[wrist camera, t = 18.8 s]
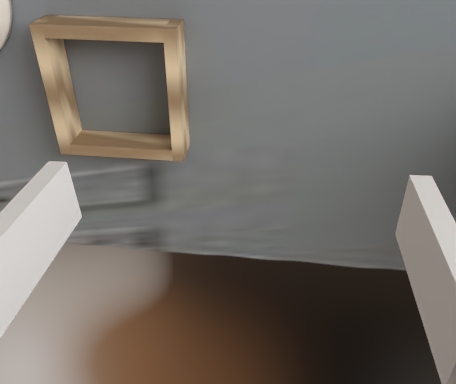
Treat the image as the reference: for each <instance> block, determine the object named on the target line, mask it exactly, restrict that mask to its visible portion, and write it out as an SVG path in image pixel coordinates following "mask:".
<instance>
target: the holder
mask: <svg viewBox="0 0 456 384" xmlns="http://www.w3.org/2000/svg"><path fill="white" fill-rule="evenodd" d="M29 27H30V31H31V35H32V39H33V43H34V47H35V51H36V55H37V59H38V63H39V67H40V71H41V75H42V79H43V83H44V87H45V91H46V95H47V99H48V103H49V107H50V111H51V115H52V119H53V124H54V128H55V132H56V136H57V140H58V144H59V148H60V152H61V154H68V155H85V156H101V157H118V158H135V159H152V160H169V161H184V160H185V157H186V154H187V152H188V149H189V146H190V140H189V120H188V100H187V79H186V59H185V39H184V19H153V18H123V17H93V16H63V15H45V16H43V17H41V18H39V19H37V20H35V21H34V22H32V23H30V24H29ZM63 39H80V40H106V41H133V42H159V43H164V54H165V67H166V80H167V93H168V106H169V119H170V132H171V135H165V134H147V133H129V132H110V131H92V130H82V127H81V122H80V117H79V112H78V108H77V103H76V98H75V93H74V88H73V84H72V79H71V74H70V69H69V64H68V60H67V55H66V50H65V45H64V40H63Z"/></svg>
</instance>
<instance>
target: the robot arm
mask: <svg viewBox="0 0 456 384" xmlns="http://www.w3.org/2000/svg"><path fill="white" fill-rule="evenodd" d="M81 218H82V215H81V212H80V208H79V204H78V201H77V197H76V194H75V190H74V186H73V183H72V179H71V176H70V172H69V168H68V165H67V162H55V161H48V162H47V164H46V165H45V166H44V167H43V168H42V169H41V170H40V171H39V172H38V173H37V174H36V175H35V176H34V177H33V178H32V179H31V180H30V182H29V183H28V184H27V185H26V186H25V187H24V188H23V189H22V190H21V191H20V192H19V193H18V194H17V195H16V196H15V197H14V198H13V199H12V201H11V202H10V203H9V204H8V205H7V206H6V207H5V208H4V209H3V210H2V211H1V212H0V338H1V337H2V335H3V334H4V332H5V331H6V329H7V328H8V326H9V325H10V323H11V322H12V320H13V319H14V317H15V316H16V314H17V313H18V311H19V310H20V308H21V307H22V305H23V304H24V303H25V301H26V300H27V298H28V297H29V295H30V294H31V292H32V291H33V289H34V288H35V286H36V285H37V283H38V282H39V280H40V279H41V277H42V276H43V274H44V273H45V271H46V270H47V268H48V267H49V265H50V264H51V262H52V261H53V259H54V258H55V256H56V255H57V253H58V252H59V250H60V249H61V247H62V246H63V244H64V243H65V242H66V240H67V239H68V237H69V236H70V234H71V233H72V231H73V230H74V228H75V227H76V225H77V224H78V222H79V221H80V219H81ZM395 235H396V238H397V241H398V245H399V248H400V251H401V254H402V258H403V261H404V264H405V267H406V270H407V274H408V277H409V280H410V283H411V286H412V290H413V293H414V296H415V299H416V303H417V306H418V309H419V312H420V315H421V319H422V322H423V325H424V328H425V332H426V335H427V338H428V341H429V344H430V347H431V351H432V354H433V357H434V360H435V364H436V367H437V370H438V373H439V377H440V380H441V383H442V384H456V222H455V221H454V219H453V217H452V215H451V213H450V211H449V209H448V207H447V205H446V203H445V201H444V199H443V197H442V195H441V193H440V191H439V189H438V187H437V185H436V183H435V181H434V179H433V177H432V176H422V175H409V179H408V183H407V187H406V192H405V196H404V200H403V204H402V208H401V212H400V216H399V220H398V225H397V229H396V233H395Z"/></svg>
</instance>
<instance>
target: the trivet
mask: <svg viewBox="0 0 456 384" xmlns="http://www.w3.org/2000/svg"><path fill="white" fill-rule="evenodd" d="M12 22H13V9H12V1H11V0H0V50H1V49H2V48H3V47H4V45H5V44H6V42H7V40H8V38H9V35H10V32H11V28H12Z"/></svg>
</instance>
